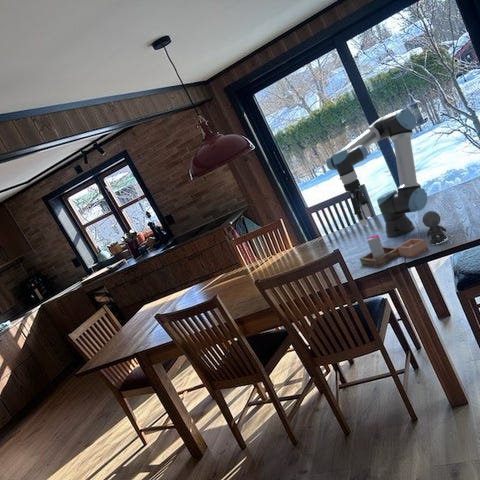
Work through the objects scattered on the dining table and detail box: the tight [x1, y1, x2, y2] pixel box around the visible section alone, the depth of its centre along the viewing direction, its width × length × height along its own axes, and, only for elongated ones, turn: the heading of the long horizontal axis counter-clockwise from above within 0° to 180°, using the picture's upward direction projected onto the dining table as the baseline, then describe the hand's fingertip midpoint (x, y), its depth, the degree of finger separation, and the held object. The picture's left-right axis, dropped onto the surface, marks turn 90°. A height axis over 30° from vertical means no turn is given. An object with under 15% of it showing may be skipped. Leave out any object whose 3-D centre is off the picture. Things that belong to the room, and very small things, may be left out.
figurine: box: [422, 210, 447, 244], centre depth 207 cm, size 9×10×15 cm
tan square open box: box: [396, 238, 428, 259], centre depth 208 cm, size 9×9×5 cm
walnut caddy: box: [359, 245, 400, 268], centre depth 218 cm, size 14×14×4 cm
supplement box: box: [366, 234, 385, 260], centre depth 217 cm, size 6×6×12 cm
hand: (366, 221), depth 216 cm, fingers open, 13 cm apart
